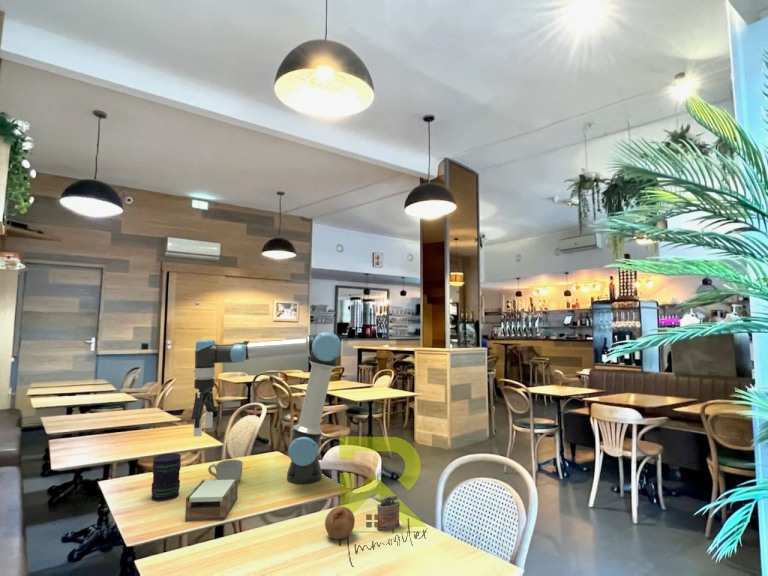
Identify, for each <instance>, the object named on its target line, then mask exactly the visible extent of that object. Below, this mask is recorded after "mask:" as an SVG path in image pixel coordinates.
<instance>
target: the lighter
mask: <svg viewBox="0 0 768 576" xmlns="http://www.w3.org/2000/svg"><path fill="white" fill-rule="evenodd" d="M398 497H399V496H398V494H394V495H390V496H388V495H385V496H384V497H381V498H380V503H379V504H376V506H377V507H376V509H377V526H376V530H377V531H378V532H386V531H387V532H388V531H391V530H392V531H393V530H395V529H398V528H400V527H401V525H400V524H401V523H400V506H401V502H400V501H398V500H399V499H398Z"/></svg>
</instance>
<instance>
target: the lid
mask: <svg viewBox="0 0 768 576" xmlns="http://www.w3.org/2000/svg"><path fill="white" fill-rule="evenodd" d="M234 482H235V480H217V479H204V482H203V483H202V484H201V485H200V486H199V488H198V489H197V490H196V491H195V492H194V493H193V494H192V495H191V496H190V497H189V502H212V501H223V500H224V496H225V494H226V493H227V492H228V490H229V489H230V487H231V486H232V485H233V483H234Z"/></svg>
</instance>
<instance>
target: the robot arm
mask: <svg viewBox="0 0 768 576" xmlns="http://www.w3.org/2000/svg"><path fill="white" fill-rule="evenodd" d="M341 351H342V342H341V339H340V337H338V335H337V334H335V333H333V332H330V331H323V332H320V333H316V334H310V335H307V336H306V337H302V338H301V337H300V338H299V337H298V338H287V339H275V340H261V341H248V342H235V343H229V344H226V343H225V344H217V343H216V340H214V339H199V340H197V341H196V342H195V350H194V370H193V372H194V378H195V379H194V386H193V387H194V389H195V390H198V392H195V394H194V396H195V397H194V404H193V409H192V412H191V413H192V415H191V420H193V437H202V429H203V426H202V425H203V419H202V415H203V411H204V407H205V410H206V411H205V429H213V425H214V424H213V419H214V417H213V416H214V413H213V412H215V411H216V408H215V400H214V393H213V391H214V390H213V388H214V387H215V381H216V380H215V378H214V377H215V375H216V367H215V366H216V364H230V363H231V364H237V363H244V362H245V361H247V360H257V359H260V360H261V359H269V358H286V357H294V356H295V357H296V356H308V357H309V360H308V361H309V363H310V364H309V365H311V367H310V372H309V376H308V381H307V386H306V390H305V393H304V398H303V403H302V407H301V412H300V416H299V420H298V423H297V424H294V425H292V430H291V440H290V443H289V446H288V448H287V450H288V457H289V459H290V463H289V467H288V471H287V473H286V480H287V482H289V483H293V484H299V485H302V484H304V485H305V484H312V483H316V482H319V481H320V480H321V479H322V477H323V471H322V468H321V464H320V460H319V446H320V443H321V438H322V437H321V436H322V435H323V431H322V429H321V428H320V425H321V420H322V418H323V417H322V416H323V412H324V407H325V404H326V403H325V402H326V398H327V394H328V390H329V389H328V388H329V385H330V380H331V376H332V371H333V370H334V369H335V368H337V364H338V361H339V357H340V353H341Z"/></svg>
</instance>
